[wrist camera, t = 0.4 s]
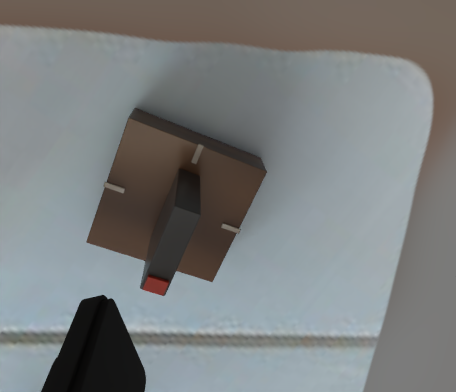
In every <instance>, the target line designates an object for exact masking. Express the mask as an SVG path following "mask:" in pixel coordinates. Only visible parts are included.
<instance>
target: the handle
mask: <svg viewBox="0 0 456 392" xmlns="http://www.w3.org/2000/svg"><path fill="white" fill-rule="evenodd" d="M200 216H201V192H200V176H199V175H196V174H193V173H191V172H188V171H185V170H182V169H178V172H177V174H176V177H175V179H174V181H173V184H172V186H171V189H170V191H169V194H168V196H167V199H166V201H165V204H164V206H163V209H162V211H161V213H160V216H159V218H158V221H157V223H156V226H155V228H154V231H153V233H152V236H151V238H150V242H149V247H148V252H147V257H146V262H145V266H144V271H143V276H142V281H141V286H140V289H143V290H145V291H149V292H152V293H155V294H159V295H162V296H165V294H166V292H167V290H168V288H169V285H170V283H171V281H172V279H173V277H174V274H175V272H176V270H177V268H178V265H179V263H180V261H181V259H182V257H183V254H184V252H185V250H186V248H187V245H188V243H189V241H190V239H191V237H192V234H193V232H194V230H195V228H196V225H197V223H198V221H199V219H200Z"/></svg>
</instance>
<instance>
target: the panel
mask: <svg viewBox="0 0 456 392" xmlns="http://www.w3.org/2000/svg"><path fill="white" fill-rule="evenodd" d="M178 169H182V170H185V171H188V172H191V173H193V174H196V175H199V176H200V192H201V216H200V219H199V221H198V223H197V225H196V228H195V230H194V232H193V234H192V237H191V239H190V241H189V243H188V245H187V248H186V250H185V252H184V254H183V257H182V259H181V261H180V263H179V265H178V268H177V270H176V271H179V272H182V273H185V274H188V275H191V276H195V277H198V278H201V279H204V280H207V281H211V282H213V280H214V278H215V276H216V274H217V272H218V270H219V268H220V266H221V264H222V262H223V260H224V258H225V256H226V254H227V252H228V250H229V247H230V245H231V243H232V241H233V239H234V237H235V235H236V233H238V234H239V232H240V230H241V229H240V228H239V227H240V225H241V223H242V221H243V219H244V217H245V215H246V213H247V211H248V209H249V207H250V205H251V203H252V201H253V199H254V197H255V195H256V193H257V191H258V189H259V187H260V185H261V183H262V181H263V179H264V177H265V175H266V173H267V171H266V168H265V166H264V164H263V162H262V159H261V158H260V157H257V156H255V155H252V154H250V153H247V152H245V151H242V150H240V149H237V148H235V147H232V146H230V145H227V144H225V143H222V142H220V141H217V140H215V139H212V138H210V137H207V136H205V135H202V134H200V133H197V132H195V131H192V130H190V129H187V128H185V127H182V126H180V125H177V124H175V123H172V122H170V121H167V120H164V119H162V118H159V117H157V116H154V115H152V114H149V113H147V112H144V111H142V110H139V109H137V108H135V109H134V110H133V112H132V113H131V115H130V116H129V118H128V121H127V124H126V127H125V130H124V133H123V136H122V139H121V142H120V144H119V147H118V150H117V153H116V156H115V159H114V162H113V165H112V168H111V171H110V174H109V177H108V180H107V182H106V181H105V183H104V187H105V189H104V192H103V195H102V197H101V200H100V203H99V206H98V209H97V212H96V215H95V218H94V221H93V224H92V227H91V230H90V233H89V236H88V239H87V243H90V244H93V245H96V246H99V247H102V248H106V249H109V250H112V251H115V252H118V253H121V254H125V255H128V256H131V257H134V258H137V259H141V260H144V261H146V257H147V252H148V247H149V242H150V238H151V236H152V233H153V231H154V228H155V226H156V223H157V221H158V218H159V216H160V213H161V211H162V209H163V206H164V204H165V201H166V199H167V196H168V194H169V191H170V189H171V186H172V184H173V181H174V179H175V177H176V174H177V172H178Z"/></svg>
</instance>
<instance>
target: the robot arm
mask: <svg viewBox="0 0 456 392" xmlns="http://www.w3.org/2000/svg"><path fill="white" fill-rule="evenodd" d="M145 385H146V375H145V370H144V367H143V365H142V363H141V361H140V358H139V356H138V354H137V351H136V349H135V347H134V345H133V342H132V340H131V338H130V335H129V333H128V331H127V329H126V326H125V324H124V322H123V320H122V317H121V315H120V313H119V310H118V308H117V306H116V304H115V302H114V300H113V299H107V297H106V296H104V295H101V296H96V297H92V298H88V299H84V300H82V301H81V303H80V305H79V307H78V310H77V312H76V314H75V317H74V319H73V322H72V324H71V326H70V329H69V331H68V333H67V336H66V338H65V341H64V343H63V345H62V348H61V350H60V353H59V355H58V357H57V358H56V359H55V361H54V363H53V365H52V367H51V369H50V372H49V374H48V377H47V379H46V381H45V384H44V386H43V388H42V391H41V392H144V391H145Z"/></svg>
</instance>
